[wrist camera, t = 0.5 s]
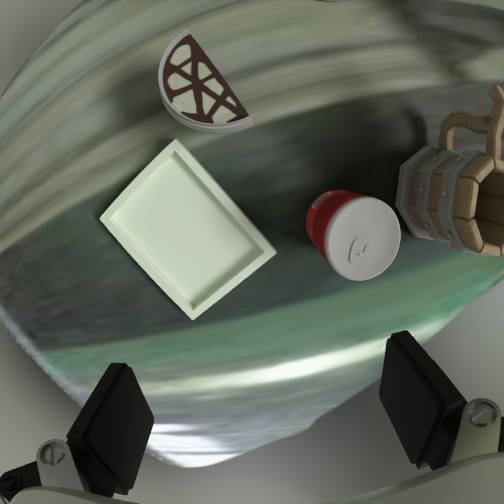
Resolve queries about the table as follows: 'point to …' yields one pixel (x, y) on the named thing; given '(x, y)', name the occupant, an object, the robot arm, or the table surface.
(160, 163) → the tray
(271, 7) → the table surface
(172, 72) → the food container
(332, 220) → the canned food
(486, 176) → the tankard
